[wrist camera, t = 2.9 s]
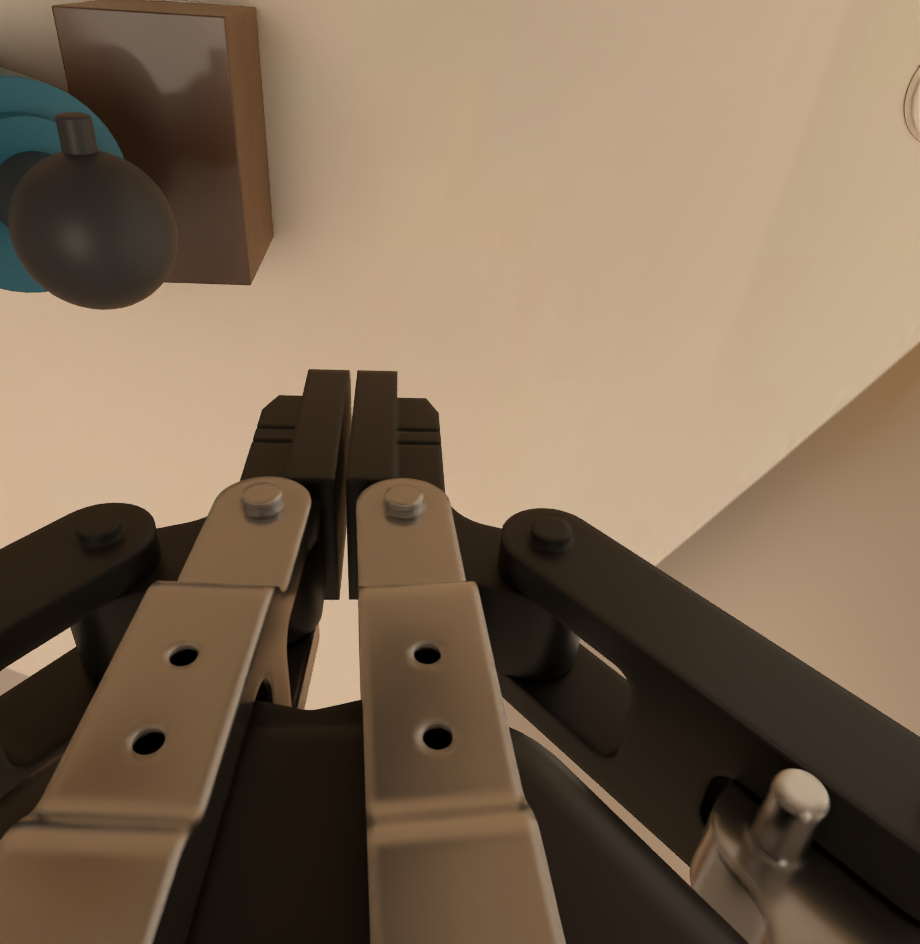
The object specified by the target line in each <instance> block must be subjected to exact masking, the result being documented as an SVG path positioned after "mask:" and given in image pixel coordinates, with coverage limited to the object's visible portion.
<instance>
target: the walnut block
mask: <svg viewBox="0 0 920 944" xmlns="http://www.w3.org/2000/svg"><path fill="white" fill-rule="evenodd" d="M52 10H53V15H54V20H55V25H56V30H57V35H58V40H59V44H60V49H61V54H62V59H63V64H64V69H65V74H66V79H67V84H68V89H69V93H70V95H72V96H73V97H75V98H76V99H78V100H79V101H80V102H82V103H83V104H84V105H86V106H87V107H88V108H89V109H90V110H91V111H92V112H93V113H94V114H96V115H97V116H98V117H99V119H100V120H101V121H102V122H103V123H104V125H105V126H106V127H107V128H108V130H109V131H110V133H111V134H112V136H113V137H114V139H115V140H116V142H117V144H118V146H119V148H120V150H121V152H122V154H123V157H124V160H126V161H128V162H130V163H132V164H134V165H135V166H137V167H138V168H140V169H141V170H142V171H143V172H145V173H146V174H147V175H148V176H149V177H150V178H151V179H152V180H153V181H154V182H155V183H156V184H157V186H158V187H159V188H160V189H161V191H162V192H163V194H164V195H165V197H166V199H167V200H168V203H169V205H170V207H171V209H172V212H173V214H174V217H175V221H176V225H177V232H178V246H177V254H176V259H175V262H174V264H173V267H172V269H171V271H170V273H169V275H168V277H167V278H166V280H165V281H164V282H171V283H200V284H229V285H251V283H252V281H253V279H254V277H255V275H256V273H257V271H258V268H259V266H260V264H261V262H262V260H263V258H264V256H265V254H266V251H267V249H268V247H269V245H270V243H271V241H272V239H273V223H272V210H271V197H270V184H269V171H268V158H267V145H266V132H265V119H264V106H263V93H262V80H261V67H260V54H259V41H258V28H257V15H256V8H255V7H245V6H229V5H214V4H198V3H183V2H168V1H152V0H94V1H86V2H78V3H69V4H61V5H53V6H52Z"/></svg>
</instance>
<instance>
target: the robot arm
mask: <svg viewBox="0 0 920 944" xmlns="http://www.w3.org/2000/svg"><path fill="white" fill-rule="evenodd" d="M346 527H347V545H348V578H349V599H358V612H359V658H360V693H361V700H358V701H354V702H349V703H345V704H340V705H336V706H331V707H327V708H322V709H317V710H304V708H305V703H306V698H307V694H308V689H309V685H310V680H311V675H312V671H313V666H314V661H315V657H316V652H317V647H318V643H319V621H320V619H321V616H322V610H323V602H324V600H339V598H340V588H341V578H342V567H343V557H344V547H345V537H346ZM69 627H71V631H72V634H73V637H74V640H75V643H76V646H77V647H75V648H74V649H72V650H70V651H69V652H67V653H66V654H64V655H63V656H61V657H60V658H58V659H57V660H55V661H53V662H52V663H50V664H49V665H47V666H46V667H44V668H43V669H41V670H40V671H38V672H37V673H35V674H33V675H32V676H30V677H29V678H28V679H26V680H24V681H23V682H21V683H20V684H18V685H17V686H15V687H13V688H12V689H10V690H9V691H7V692H6V693H4V694H3V695H1V696H0V944H920V737H919V736H918V735H916V734H914V733H913V732H911V731H910V730H908V729H907V728H905V727H904V726H902V725H901V724H899V723H897V722H896V721H894V720H893V719H891V718H890V717H888V716H886V715H885V714H883V713H882V712H880V711H879V710H877V709H876V708H874V707H872V706H871V705H869V704H868V703H866V702H865V701H863V700H862V699H860V698H859V697H857V696H855V695H854V694H852V693H851V692H849V691H847V690H846V689H844V688H843V687H841V686H840V685H838V684H837V683H835V682H834V681H832V680H831V679H829V678H827V677H826V676H824V675H823V674H821V673H820V672H818V671H816V670H815V669H814V668H812V667H810V666H809V665H807V664H806V663H804V662H803V661H801V660H799V659H798V658H796V657H795V656H793V655H792V654H790V653H789V652H787V651H785V650H784V649H782V648H781V647H779V646H778V645H776V644H775V643H773V642H772V641H770V640H768V639H767V638H765V637H764V636H762V635H761V634H759V633H758V632H756V631H754V630H753V629H751V628H750V627H748V626H747V625H745V624H744V623H742V622H741V621H739V620H737V619H736V618H734V617H733V616H731V615H730V614H728V613H726V612H725V611H723V610H722V609H720V608H719V607H717V606H716V605H714V604H712V603H711V602H709V601H708V600H706V599H705V598H703V597H701V596H700V595H698V594H697V593H695V592H694V591H692V590H691V589H689V588H688V587H686V586H684V585H683V584H681V583H680V582H678V581H677V580H675V579H674V578H672V577H671V576H669V575H667V574H666V573H664V572H663V571H661V570H660V569H658V568H657V567H655V566H654V565H652V564H650V563H649V562H647V561H646V560H644V559H643V558H641V557H640V556H638V555H636V554H635V553H633V552H632V551H630V550H629V549H627V548H626V547H624V546H622V545H621V544H619V543H618V542H616V541H615V540H613V539H612V538H610V537H608V536H607V535H605V534H604V533H602V532H601V531H599V530H598V529H596V528H594V527H593V526H591V525H590V524H588V523H587V522H585V521H584V520H582V519H580V518H578V517H577V516H575V515H572V514H570V513H567V512H564V511H560V510H555V509H546V508H537V509H529V510H525V511H521V512H519V513H517V514H515V515H513V516H511V517H510V518H509V519H508V520H507V521H506V522H505V524H504V525H503V528H502V529H501V528H496V527H492V526H487V525H484V524H480V523H477V522H474V521H472V520H469V519H467V518H466V517H464V516H462V515H461V514H459V513H458V512H456V511H455V510H454V509H453V508H452V507H451V505H450V501H449V498H448V497H447V495H446V494H445V486H444V474H443V462H442V449H441V437H440V425H439V413H438V412H437V411H436V409H435V408H434V407H433V406H432V405H431V404H430V403H429V401H428V400H427V399H426V398H397V371H362V370H358V371H357V380H356V389H355V398H354V407H353V416H352V417H351V379H350V370H318V369H309V370H308V374H307V379H306V383H305V387H304V392H303V396H286V395H279V396H278V397H276V398H275V399H274V400H273V401H272V402H270V403H269V404H268V405H267V406H266V407H265V408H263V409H262V412H261V416H260V419H259V422H258V425H257V429H256V431H255V435H254V438H253V442H252V444H251V447H250V451H249V454H248V457H247V460H246V463H245V467H244V470H243V473H242V476H241V479H240V481H239V482H237V483H235V484H233V485H231V486H229V487H227V488H226V489H225V490H223V491H222V492H221V493H220V494H219V495H218V496H217V498H216V499H215V501H214V503H213V505H212V507H211V510H210V512H209V514H208V516H207V517H205V518H202V519H199V520H196V521H192V522H188V523H183V524H178V525H173V526H168V527H163V528H157V529H156V526H155V521H154V519H153V517H152V516H151V514H150V513H149V512H147V511H146V510H145V509H143V508H141V507H138V506H135V505H132V504H125V503H105V504H98V505H93V506H89V507H86V508H83V509H80V510H77V511H75V512H73V513H70V514H68V515H66V516H64V517H62V518H60V519H58V520H56V521H55V522H53V523H51V524H49V525H47V526H45V527H43V528H41V529H39V530H37V531H35V532H33V533H31V534H29V535H27V536H25V537H23V538H21V539H19V540H17V541H15V542H13V543H11V544H9V545H7V546H5V547H4V548H2V549H0V671H1V670H2V669H4V668H5V667H7V666H8V665H10V664H12V663H13V662H15V661H16V660H18V659H20V658H21V657H23V656H24V655H26V654H28V653H29V652H31V651H32V650H34V649H36V648H37V647H39V646H40V645H42V644H44V643H45V642H47V641H48V640H50V639H52V638H53V637H55V636H56V635H58V634H60V633H61V632H63V631H64V630H66V629H68V628H69ZM580 638H581V639H582V640H584V641H585V642H586V643H587V644H589V645H590V646H591V647H593V648H594V649H595V650H597V651H598V652H599V653H600V654H602V655H603V656H604V657H606V658H607V659H608V660H610V661H611V662H612V663H613V664H615V665H616V666H617V667H618V668H619V669H620V670H621V671H622V673H623V674H624V675H625V677H626V679H627V680H626V679H625V678H624V677H622V676H621V675H620V674H618V673H617V672H616V671H615V670H613V669H612V668H611V667H609V666H608V665H607V664H606V663H604V662H603V661H602V660H600V659H599V658H598V657H597V656H595V655H594V654H593V653H591V652H590V651H589V650H588V649H586V648H585V647H584V646H582V645H581V644H580V643H579V642H580ZM502 697H503V698H504V699H505V700H506V701H507V702H509V703H510V704H511V705H512V706H513V707H514V708H515V709H516V710H518V712H519V713H521V714H522V715H523V716H524V717H525V718H526V719H527V720H528V721H529V722H530V723H532V724H533V725H534V726H535V727H536V728H537V729H538V730H539V731H540V732H542V733H543V734H544V735H545V736H546V737H547V738H548V739H549V740H550V741H551V742H552V743H554V744H555V745H556V746H557V747H558V748H559V749H560V750H561V751H562V752H564V753H565V754H566V755H567V756H568V757H569V758H570V759H571V760H572V761H573V762H575V763H576V764H577V765H578V766H579V767H580V768H581V769H582V770H583V771H584V772H586V773H587V774H588V775H589V776H590V777H591V778H592V779H593V780H594V781H596V782H597V783H598V784H599V785H600V786H601V787H602V788H603V789H605V791H606V792H608V793H609V794H610V795H611V796H612V797H613V798H614V799H615V800H616V801H618V802H619V803H620V804H621V805H622V806H623V807H624V808H625V809H626V810H627V811H629V812H630V813H631V814H632V815H633V816H634V817H635V818H637V820H638V821H640V822H641V823H642V824H643V825H644V826H645V827H646V828H647V829H649V831H651V832H652V833H653V834H654V835H655V836H656V837H657V838H658V839H659V840H661V841H662V842H663V843H664V844H665V845H666V846H667V847H668V848H669V849H670V850H672V851H673V852H674V853H675V854H676V855H677V856H678V857H679V858H680V859H681V860H683V861H684V862H685V863H686V864H687V865H688V866H689V867H690V882H691V887H690V886H689V885H688V884H687V883H686V882H685V881H684V880H683V879H682V878H681V877H680V876H679V875H678V874H677V873H676V872H675V871H674V870H673V869H672V868H671V867H670V866H669V865H668V864H666V862H665V861H663V859H661V858H660V857H659V856H658V855H657V854H656V853H655V852H654V851H653V850H652V849H651V848H650V847H649V846H648V845H647V844H646V843H645V842H644V841H643V840H642V839H641V838H640V837H639V836H638V835H637V834H636V833H635V832H634V831H633V830H632V829H630V827H628V826H627V825H626V824H625V823H624V822H623V821H622V820H621V819H620V818H619V817H618V816H617V815H616V814H615V813H614V812H613V811H612V810H611V809H610V808H609V807H608V806H607V805H606V804H605V803H604V802H603V801H602V800H601V799H599V798H598V796H596V795H595V794H594V793H593V792H592V791H591V790H590V789H589V788H588V787H587V786H586V785H585V784H584V783H583V782H582V781H581V780H580V779H579V778H578V777H577V776H576V775H575V774H574V773H573V772H572V771H571V770H570V769H569V768H568V767H567V766H565V765H564V764H563V763H562V762H561V761H560V760H559V759H558V758H557V757H556V756H555V755H554V754H552V753H551V752H550V751H549V750H547V749H546V748H544V747H543V746H542V745H541V744H539V743H538V742H536V741H534V740H533V739H531V738H530V737H528V736H526V735H524V734H523V733H521V732H519V731H517V730H515V729H512V728H510V727H508V722H507V717H506V713H505V708H504V704H503V699H502Z"/></svg>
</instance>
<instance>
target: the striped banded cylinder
mask: <svg viewBox="0 0 920 944" xmlns="http://www.w3.org/2000/svg"><path fill="white" fill-rule="evenodd" d="M177 246H178V232H177V225H176V221H175V217H174V214H173V212H172V209H171V207H170V205H169V203H168V200H167V199H166V197H165V195H164V194H163V192H162V191H161V189H160V188H159V187H158V186H157V184H156V183H155V182H154V181H153V180H152V179H151V178H150V177H149V176H148V175H147V174H146V173H145V172H143V171H142V170H141V169H140V168H138V167H137V166H135V165H134V164H132V163H130V162H128V161H126V160H124V157H123V154H122V152H121V150H120V148H119V146H118V144H117V142H116V140H115V139H114V137H113V136H112V134H111V133H110V131H109V130H108V128H107V127H106V126H105V125H104V123H103V122H102V121H101V120H100V119H99V117H98V116H97V115H96V114H94V113H93V112H92V111H91V110H90V109H89V108H88V107H87V106H86V105H84V104H83V103H82V102H80V101H79V100H78V99H76V98H75V97H73V96H72V95H70V94H68V93H67V92H65V91H63V90H61V89H59V88H57V87H55V86H52V85H50V84H48V83H45V82H42V81H40V80H37V79H34V78H31V77H28V76H26V75H23V74H20V73H17V72H15V71H12V70H9V69H6V68H3V67H1V66H0V289H5V290H9V291H16V292H26V293H29V292H46V291H49V292H50V293H51V294H53V295H55V296H56V297H58V298H60V299H62V300H64V301H66V302H69V303H71V304H74V305H78V306H81V307H86V308H91V309H100V310H105V309H117V308H123V307H127V306H130V305H133V304H135V303H137V302H139V301H142V300H144V299H145V298H147V297H148V296H150V295H151V294H152V293H154V292H155V291H156V290H157V289H158V288H159V287H160V286H161V285H162V284H163V282H164V281H165V280H166V278H167V277H168V275H169V273H170V271H171V269H172V267H173V264H174V262H175V259H176V254H177Z"/></svg>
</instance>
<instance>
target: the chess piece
mask: <svg viewBox="0 0 920 944" xmlns="http://www.w3.org/2000/svg"><path fill="white" fill-rule="evenodd" d="M905 119H906V123H907V126H908V128H909V130H910V132H911V133H912V135H913V136H914V137H915V138H916V139H917V140H919V141H920V67H919V69H918V70H917V72H916V73H915V75H914V77H913V79H912V81H911V83H910V86H909V88H908V91H907V95H906V99H905Z"/></svg>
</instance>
